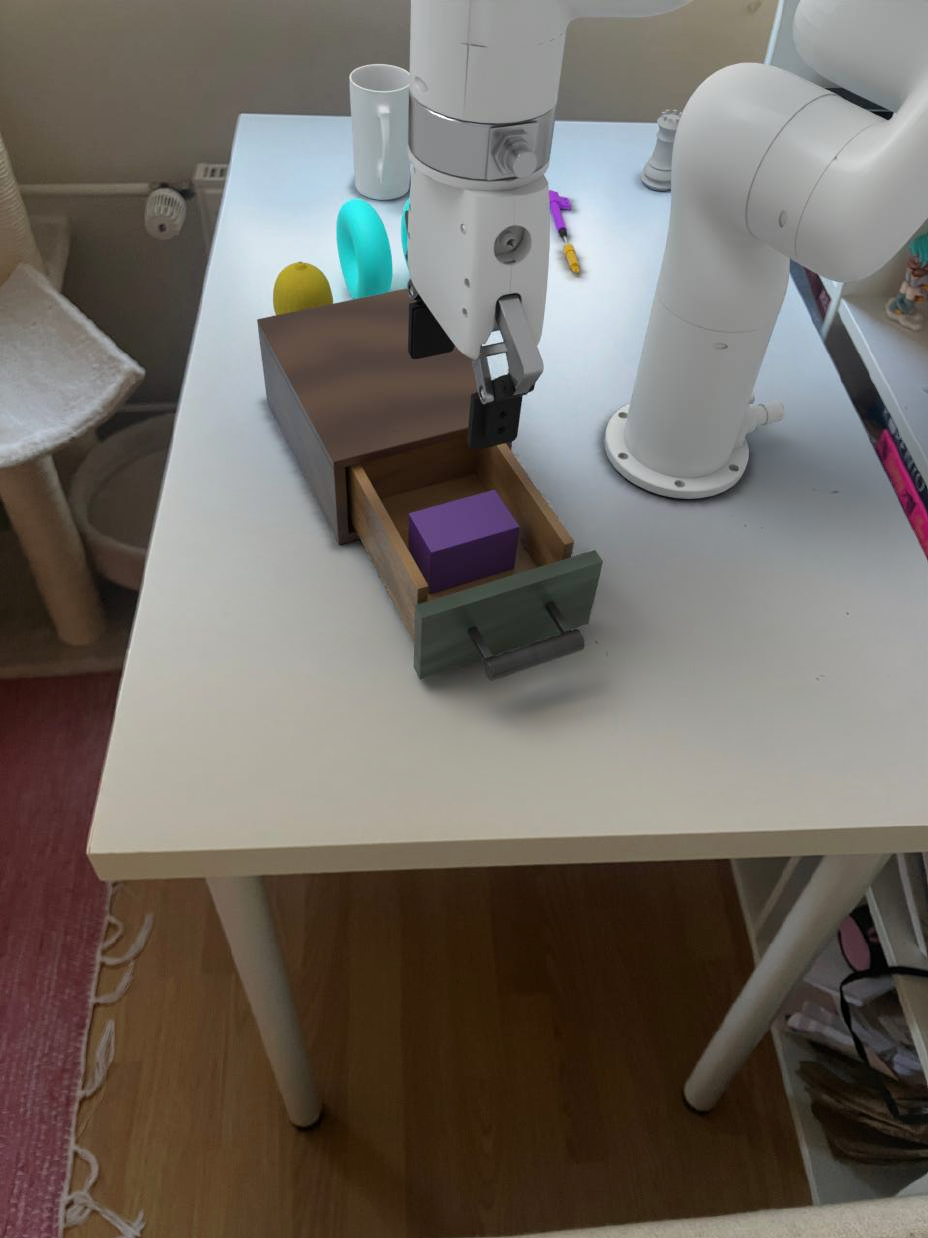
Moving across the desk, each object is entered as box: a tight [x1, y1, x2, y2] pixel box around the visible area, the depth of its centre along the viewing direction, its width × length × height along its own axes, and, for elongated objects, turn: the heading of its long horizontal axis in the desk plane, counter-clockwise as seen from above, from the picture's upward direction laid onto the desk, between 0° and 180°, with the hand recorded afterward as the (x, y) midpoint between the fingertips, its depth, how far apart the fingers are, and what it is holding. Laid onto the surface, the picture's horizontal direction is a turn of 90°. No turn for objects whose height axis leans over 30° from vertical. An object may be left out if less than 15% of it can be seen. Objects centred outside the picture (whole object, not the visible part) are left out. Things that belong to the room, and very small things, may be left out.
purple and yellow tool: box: [549, 189, 581, 274], centre depth 111 cm, size 3×1×16 cm
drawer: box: [345, 436, 604, 682], centre depth 74 cm, size 22×14×7 cm, turn 24°
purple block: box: [408, 490, 520, 594], centre depth 74 cm, size 7×4×5 cm, turn 114°
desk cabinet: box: [256, 288, 513, 545], centre depth 84 cm, size 19×15×9 cm
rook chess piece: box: [640, 109, 683, 192], centre depth 116 cm, size 4×4×8 cm
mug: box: [348, 63, 412, 201], centre depth 110 cm, size 10×7×12 cm, turn 7°
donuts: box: [335, 196, 410, 299], centre depth 98 cm, size 10×10×10 cm
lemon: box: [272, 261, 334, 315], centre depth 93 cm, size 6×6×8 cm
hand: (460, 396), depth 65 cm, fingers open, 9 cm apart
